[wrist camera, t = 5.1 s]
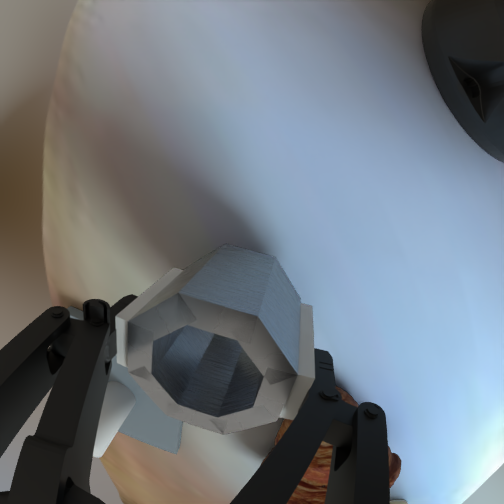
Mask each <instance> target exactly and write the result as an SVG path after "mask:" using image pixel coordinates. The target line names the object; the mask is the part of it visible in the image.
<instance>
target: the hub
mask: <svg viewBox="0 0 504 504" xmlns="http://www.w3.org/2000/svg"><path fill="white" fill-rule="evenodd" d="M300 307H301V298H300V297H299V295H298V293H297V292H296V290H295V288H294V287H293V285H292V283H291V282H290V280H289V278H288V277H287V275H286V273H285V272H284V270H283V268H282V267H281V265H280V263H279V262H278V260H277V258H276V257H274V256H270V255H266V254H262V253H259V252H255V251H251V250H248V249H244V248H240V247H236V246H233V245H229V244H225V245H223V246H221V247H219V248H218V249H216V250H214V251H213V252H211V253H209V254H208V255H206V256H204V257H203V258H201V259H199V260H198V261H196V262H194V263H193V264H191V265H189V266H188V267H186V268H185V269H184V270H183V271H182V272H181V273H180V274H179V275H178V276H176V277H175V278H174V279H173V280H172V281H171V282H170V283H169V284H168V285H167V286H165V287H164V288H163V289H162V290H161V291H160V292H159V293H158V294H157V295H156V296H154V297H153V298H152V299H151V300H150V301H149V302H148V303H147V304H146V305H145V306H144V307H143V308H141V309H140V310H139V311H138V312H137V313H136V314H135V315H134V316H133V317H132V318H131V319H130V320H129V321H128V332H127V346H128V373H129V374H130V375H131V376H132V378H133V379H134V380H135V381H136V382H137V383H138V385H139V386H140V387H141V388H142V389H143V390H144V392H145V393H146V394H147V395H148V396H149V397H150V398H151V399H152V401H153V402H154V403H155V404H156V405H157V406H158V407H159V408H160V409H161V410H162V411H163V412H164V413H165V414H166V415H167V416H169V417H172V418H175V419H177V420H180V421H183V422H186V423H188V424H191V425H194V426H197V427H200V428H203V429H207V430H210V431H213V432H216V433H220V434H223V435H224V434H229V433H233V432H237V431H242V430H246V429H250V428H254V427H257V426H261V425H265V424H268V423H272V422H275V421H277V420H278V418H279V416H280V414H281V411H282V409H283V407H284V405H285V403H286V401H287V398H288V396H289V394H290V392H291V390H292V387H293V385H294V383H295V380H296V378H297V376H298V364H299V340H300Z"/></svg>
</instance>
